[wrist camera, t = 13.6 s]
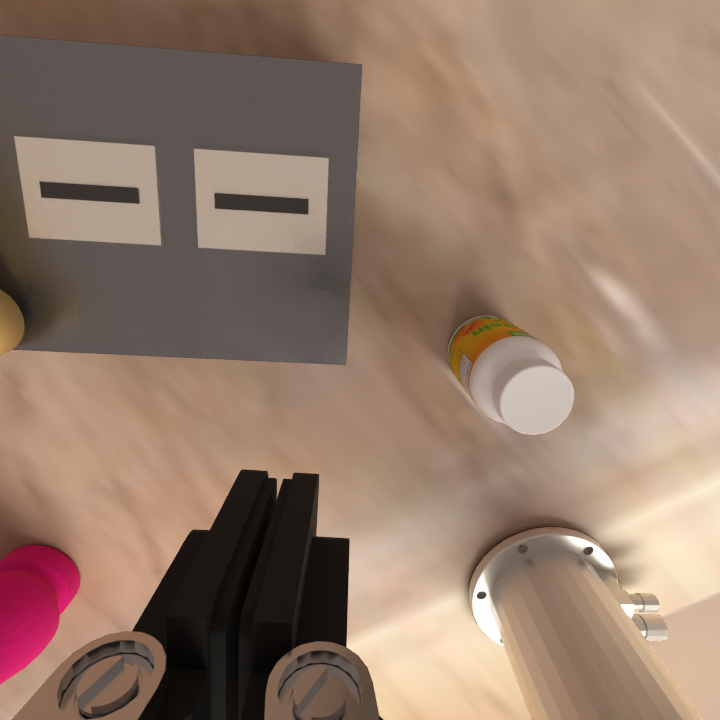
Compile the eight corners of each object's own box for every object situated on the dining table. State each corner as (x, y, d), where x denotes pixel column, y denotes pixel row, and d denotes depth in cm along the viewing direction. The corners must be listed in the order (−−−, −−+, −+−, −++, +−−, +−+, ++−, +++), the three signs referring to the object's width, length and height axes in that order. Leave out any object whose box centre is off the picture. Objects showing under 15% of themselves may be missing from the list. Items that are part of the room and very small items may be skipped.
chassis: (358, 91, 28) (362, 62, 22) (345, 343, 32) (346, 366, 27) (-16, 62, 26) (-102, 24, 21) (27, 328, 31) (-36, 349, 26)
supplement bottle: (520, 310, 32) (592, 346, 23) (518, 381, 34) (585, 442, 24) (444, 317, 32) (486, 357, 23) (447, 388, 34) (486, 452, 24)
